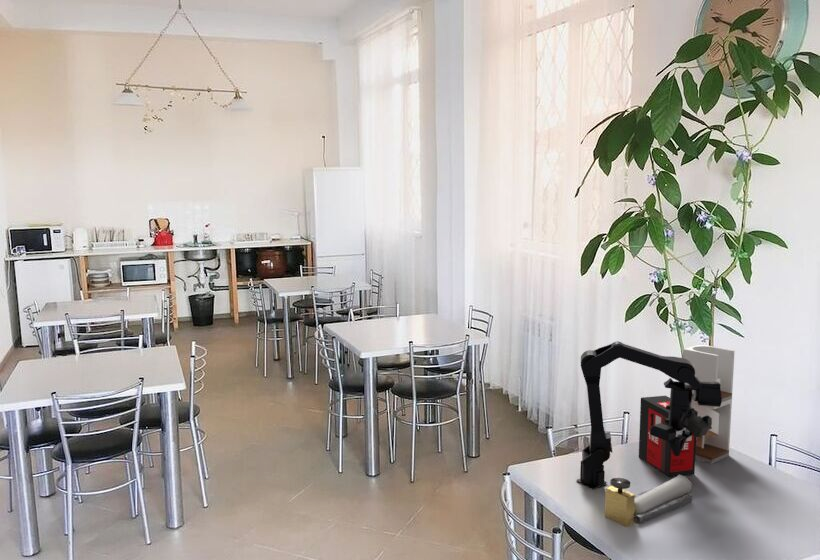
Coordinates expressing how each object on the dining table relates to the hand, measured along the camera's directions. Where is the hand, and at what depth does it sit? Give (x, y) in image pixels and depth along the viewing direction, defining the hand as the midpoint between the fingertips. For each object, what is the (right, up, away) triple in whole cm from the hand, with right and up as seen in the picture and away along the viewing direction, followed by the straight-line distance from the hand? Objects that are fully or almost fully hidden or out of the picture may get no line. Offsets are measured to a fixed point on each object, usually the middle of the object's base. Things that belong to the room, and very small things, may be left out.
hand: (676, 455), depth 200 cm
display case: (+20, -7, +28) cm, 35 cm away
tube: (-8, -12, -7) cm, 16 cm away
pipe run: (-12, -12, -10) cm, 20 cm away
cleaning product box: (+4, -8, +19) cm, 21 cm away
